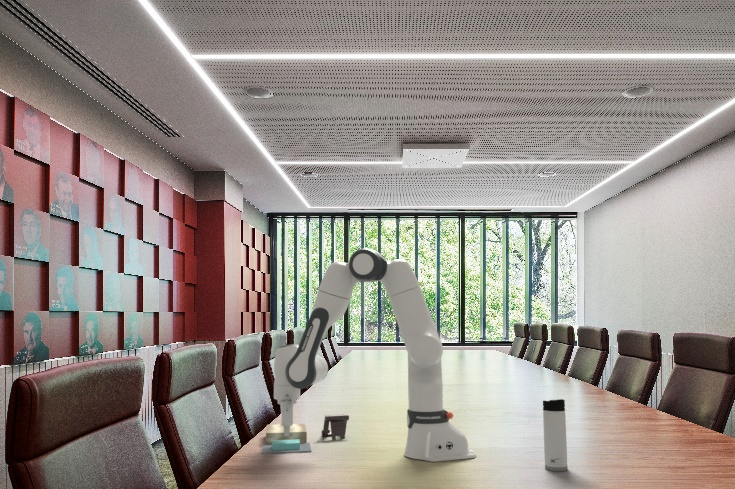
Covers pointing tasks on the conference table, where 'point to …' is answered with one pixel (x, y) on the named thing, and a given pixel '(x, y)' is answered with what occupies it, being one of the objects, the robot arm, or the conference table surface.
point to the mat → (303, 448)
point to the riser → (278, 433)
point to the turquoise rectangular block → (286, 444)
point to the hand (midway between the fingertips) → (286, 435)
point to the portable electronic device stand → (335, 426)
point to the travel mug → (555, 435)
